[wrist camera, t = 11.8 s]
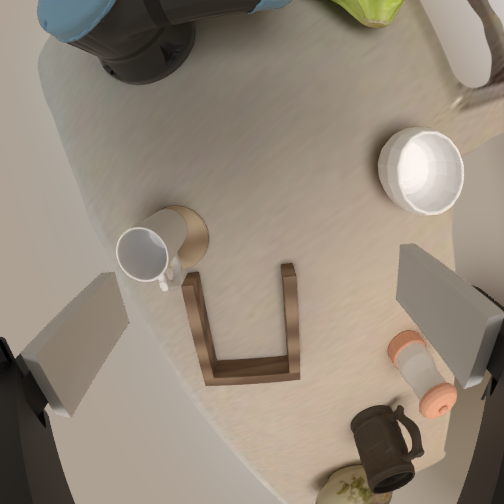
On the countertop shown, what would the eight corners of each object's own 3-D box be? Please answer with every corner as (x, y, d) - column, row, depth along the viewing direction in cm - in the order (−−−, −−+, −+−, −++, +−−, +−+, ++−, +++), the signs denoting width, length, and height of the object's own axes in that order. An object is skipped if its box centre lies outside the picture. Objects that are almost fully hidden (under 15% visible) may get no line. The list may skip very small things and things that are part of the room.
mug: (140, 217, 45) (106, 240, 34) (177, 199, 44) (151, 217, 33) (169, 273, 48) (145, 311, 37) (206, 258, 47) (191, 294, 36)
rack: (188, 272, 49) (181, 286, 44) (292, 263, 48) (296, 276, 43) (209, 368, 55) (205, 385, 50) (297, 361, 54) (300, 379, 49)
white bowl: (428, 209, 44) (460, 223, 35) (363, 201, 44) (387, 214, 35) (436, 136, 40) (470, 137, 31) (369, 121, 40) (396, 117, 31)
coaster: (141, 210, 45) (140, 211, 45) (203, 201, 45) (203, 202, 44) (154, 270, 49) (152, 271, 48) (213, 264, 48) (212, 266, 48)
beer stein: (375, 435, 63) (399, 494, 44) (340, 433, 62) (360, 497, 43) (408, 392, 59) (443, 451, 40) (372, 388, 58) (405, 454, 39)
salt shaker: (380, 355, 54) (416, 426, 36) (401, 325, 52) (447, 392, 34) (405, 363, 55) (442, 428, 37) (425, 335, 53) (471, 397, 34)
